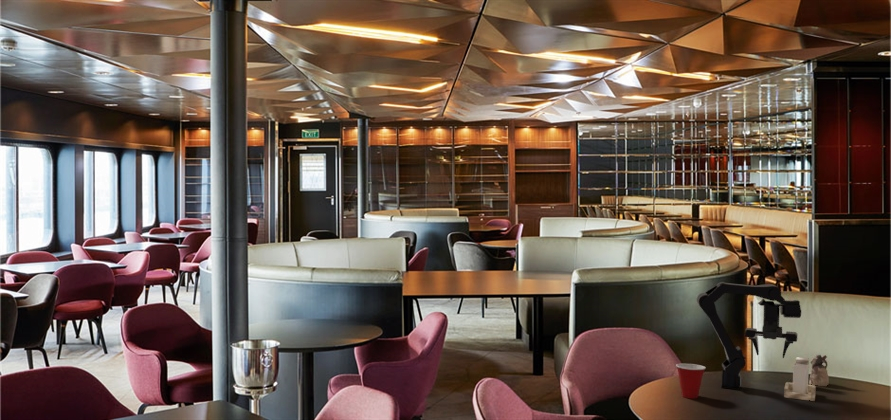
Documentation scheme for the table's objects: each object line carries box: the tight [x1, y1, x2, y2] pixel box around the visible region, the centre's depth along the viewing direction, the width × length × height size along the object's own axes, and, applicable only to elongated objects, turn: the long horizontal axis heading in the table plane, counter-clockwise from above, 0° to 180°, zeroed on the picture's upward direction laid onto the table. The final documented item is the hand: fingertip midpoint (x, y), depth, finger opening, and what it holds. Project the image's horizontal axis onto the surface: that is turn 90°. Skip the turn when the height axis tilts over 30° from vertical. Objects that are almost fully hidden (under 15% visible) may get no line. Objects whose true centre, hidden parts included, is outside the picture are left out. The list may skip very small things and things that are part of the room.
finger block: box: [792, 362, 809, 394], centre depth 291 cm, size 4×5×11 cm
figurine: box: [808, 353, 830, 387], centre depth 308 cm, size 7×7×12 cm
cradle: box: [783, 356, 817, 402], centre depth 296 cm, size 10×22×11 cm, turn 153°
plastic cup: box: [675, 363, 706, 399], centre depth 289 cm, size 11×11×12 cm
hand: (770, 356), depth 299 cm, fingers open, 9 cm apart
